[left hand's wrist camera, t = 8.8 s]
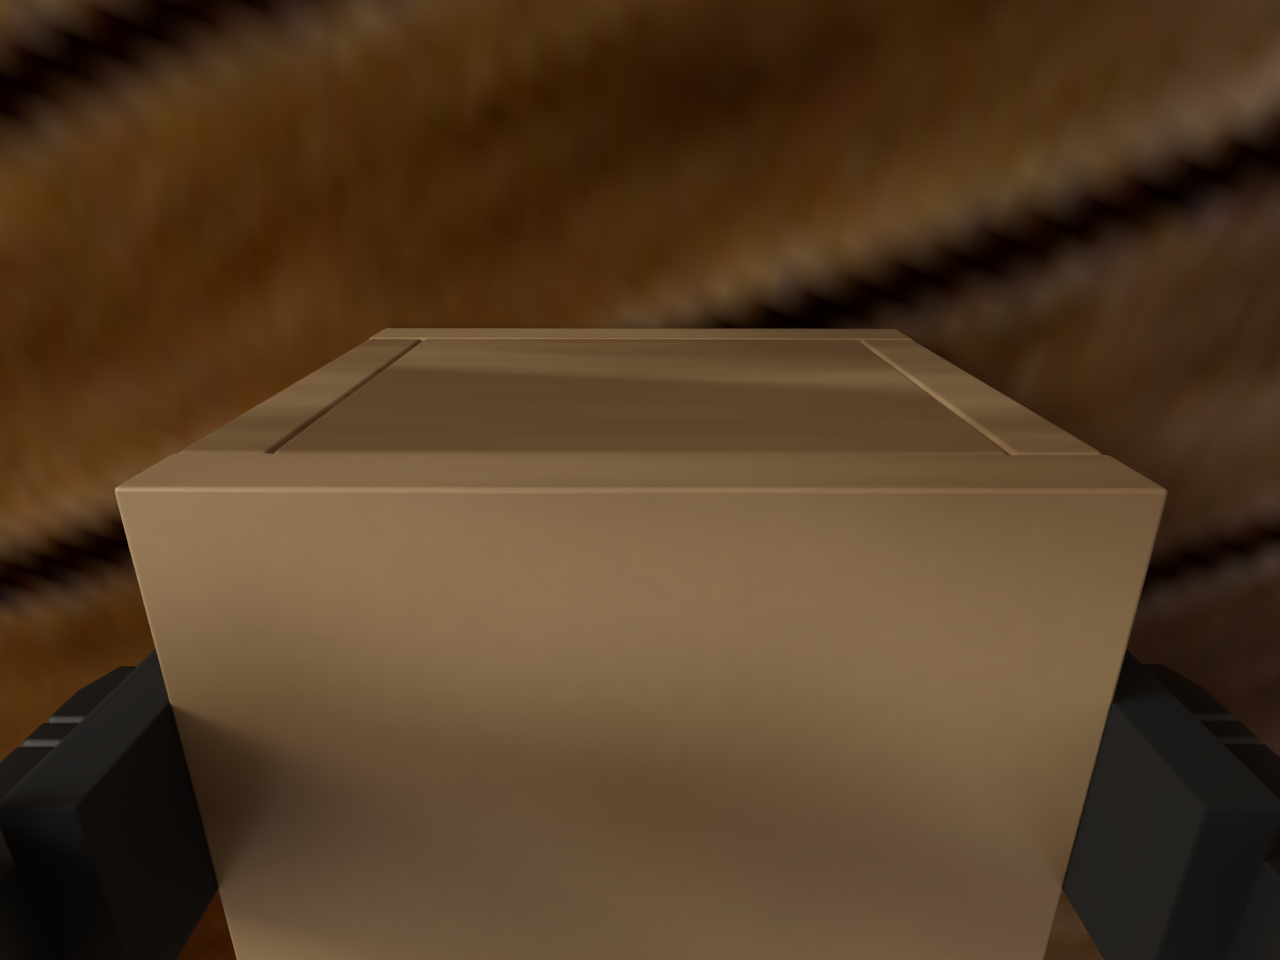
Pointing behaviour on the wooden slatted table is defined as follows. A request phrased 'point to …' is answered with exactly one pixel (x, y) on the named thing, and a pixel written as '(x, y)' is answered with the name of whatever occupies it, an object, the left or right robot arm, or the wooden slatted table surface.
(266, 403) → the cabinet
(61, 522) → the wooden slatted table surface
